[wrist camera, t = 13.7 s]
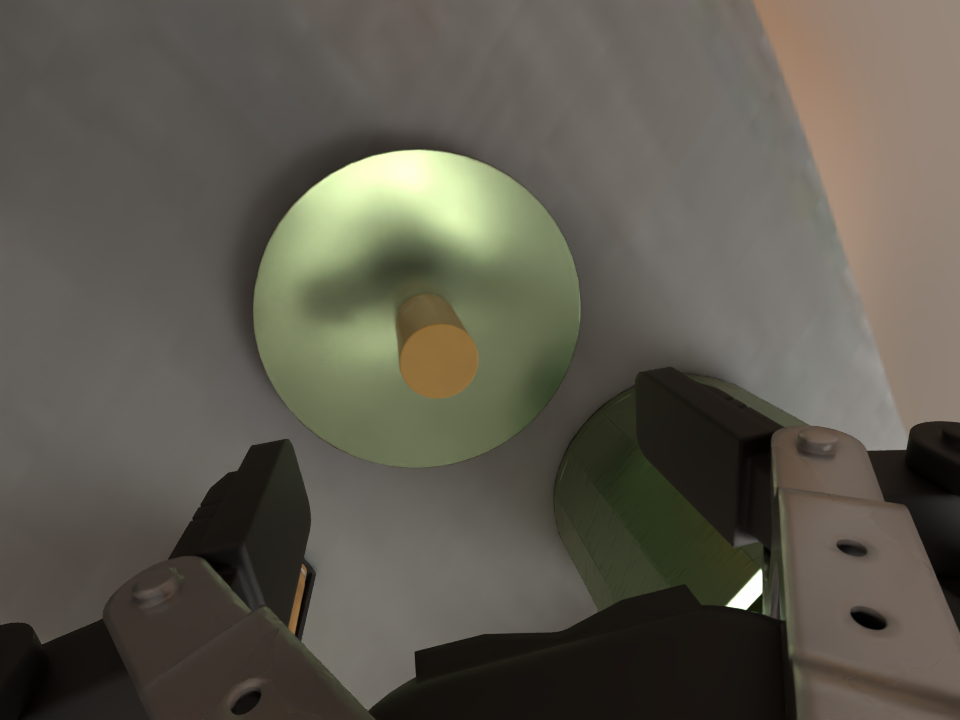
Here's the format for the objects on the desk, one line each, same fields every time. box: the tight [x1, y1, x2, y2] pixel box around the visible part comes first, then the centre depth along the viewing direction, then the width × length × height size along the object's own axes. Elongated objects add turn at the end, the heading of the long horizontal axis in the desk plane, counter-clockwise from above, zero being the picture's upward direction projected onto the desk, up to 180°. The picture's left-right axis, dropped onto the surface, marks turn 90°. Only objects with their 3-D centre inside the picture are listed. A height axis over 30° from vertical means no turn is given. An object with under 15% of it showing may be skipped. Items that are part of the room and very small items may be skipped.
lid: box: [252, 148, 581, 468], centre depth 19 cm, size 14×14×6 cm
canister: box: [554, 375, 960, 633], centre depth 22 cm, size 13×13×12 cm
